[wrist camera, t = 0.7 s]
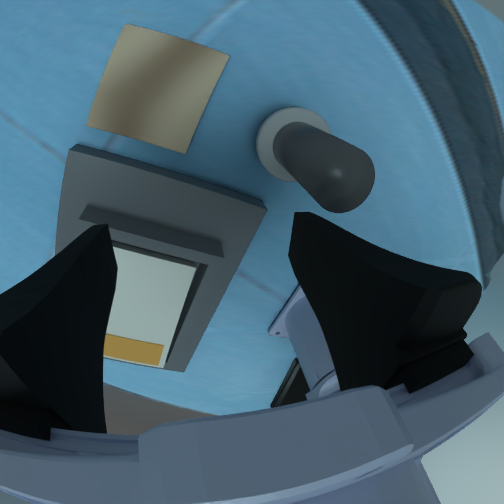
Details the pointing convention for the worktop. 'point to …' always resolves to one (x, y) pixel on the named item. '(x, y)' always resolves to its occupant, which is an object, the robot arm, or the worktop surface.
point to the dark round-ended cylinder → (314, 159)
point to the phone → (292, 387)
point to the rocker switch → (146, 305)
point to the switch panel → (162, 227)
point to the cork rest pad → (155, 88)
